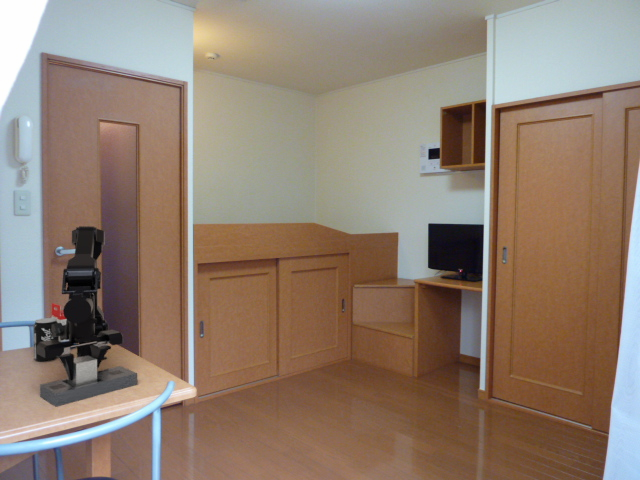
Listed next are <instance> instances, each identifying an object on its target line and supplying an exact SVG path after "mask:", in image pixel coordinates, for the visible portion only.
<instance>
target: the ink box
mask: <svg viewBox="0 0 640 480" xmlns="http://www.w3.org/2000/svg"><path fill="white" fill-rule="evenodd" d="M56 308H57V309H56ZM51 318H55V319H57V320H56V321H57V323H62V326H63V325H66V320H67V319H66V318H65V316H64V313H63V309H62V306H61V305H60V304H57V303H54V302H52V303H51ZM67 341H69V340H60V336H59V342H67ZM71 350H75V348H72V349H71Z"/></svg>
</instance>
